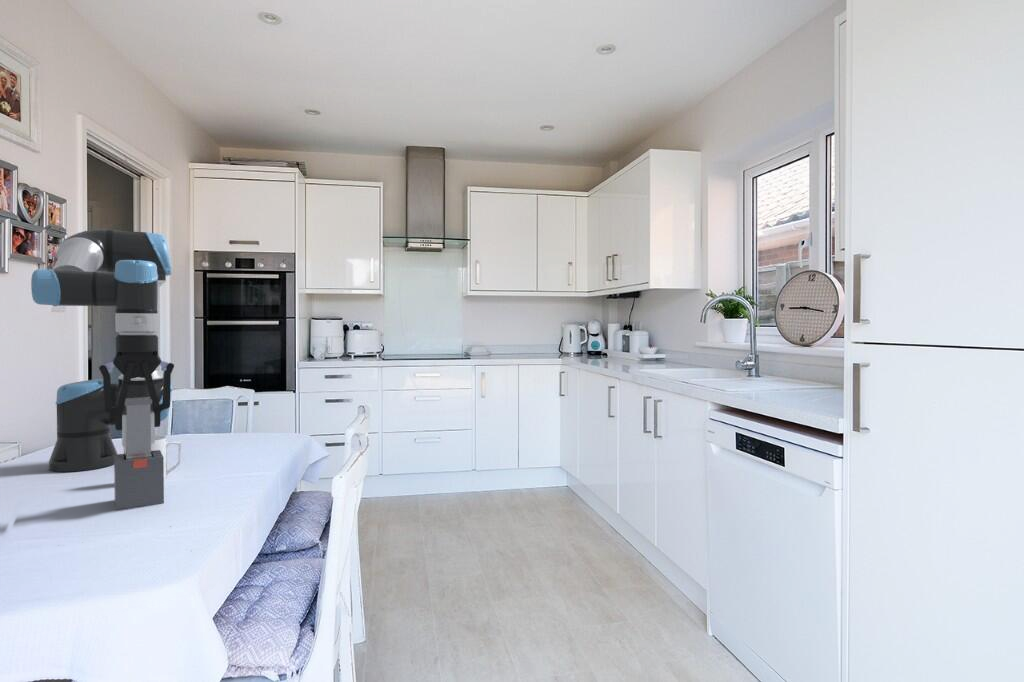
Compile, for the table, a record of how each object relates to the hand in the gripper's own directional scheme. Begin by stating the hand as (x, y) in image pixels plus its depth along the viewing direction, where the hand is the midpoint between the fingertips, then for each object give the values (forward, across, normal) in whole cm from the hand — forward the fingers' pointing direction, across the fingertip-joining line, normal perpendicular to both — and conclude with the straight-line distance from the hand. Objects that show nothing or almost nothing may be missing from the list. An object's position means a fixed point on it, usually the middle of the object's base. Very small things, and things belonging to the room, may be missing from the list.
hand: (138, 443), depth 122 cm
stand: (+14, 0, 0) cm, 14 cm away
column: (+12, 0, 0) cm, 12 cm away
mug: (+14, +4, +20) cm, 25 cm away
